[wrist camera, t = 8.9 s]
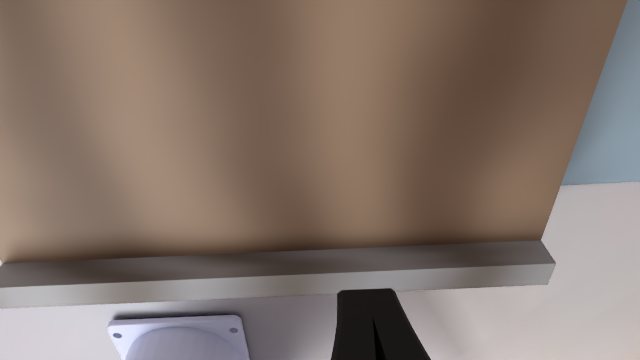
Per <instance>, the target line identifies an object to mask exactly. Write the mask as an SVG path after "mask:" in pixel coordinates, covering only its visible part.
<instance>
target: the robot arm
mask: <svg viewBox="0 0 640 360" xmlns="http://www.w3.org/2000/svg"><path fill="white" fill-rule="evenodd" d="M107 331H108V333H109V335H110V337H111V339H112V341H113V343H114V345H115V347H116V349H117V351H118V353H119V355H120V357H121V359H122V360H250V358H249V353H248V348H247V344H246V339H245V334H244V330H243V325H242V320H241V318H240V317H238V316H236V315H218V316H196V317H173V318H151V319H128V320H113V321H110V322H109V324H108V326H107ZM331 360H431V359H430V357H429V356H428V354H427V352H426V351H425V349H424V347H423V346H422V344H421V342H420V340H419V339H418V337H417V335H416V333H415V331H414V330H413V328H412V326H411V324H410V322H409V320H408V318H407V316H406V314H405V312H404V310H403V308H402V306H401V304H400V302H399V300H398V298H397V295H396V293H395V291H394V290H393V289H391V288H382V289H355V290H341V291H340V292H338V293H337V327H336V334H335V341H334V347H333V352H332V357H331Z"/></svg>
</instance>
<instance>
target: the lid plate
mask: <svg viewBox="0 0 640 360" xmlns="http://www.w3.org/2000/svg"><path fill="white" fill-rule="evenodd" d="M621 182H640V0H628V1H627V3H626V6H625V9H624V12H623V14H622V17H621V20H620V23H619V25H618V28H617V31H616V34H615V37H614V39H613V42H612V45H611V48H610V50H609V53H608V56H607V59H606V61H605V64H604V67H603V70H602V72H601V75H600V78H599V81H598V83H597V86H596V89H595V92H594V95H593V97H592V100H591V103H590V106H589V108H588V111H587V114H586V117H585V119H584V122H583V125H582V128H581V130H580V133H579V136H578V139H577V141H576V144H575V147H574V150H573V153H572V155H571V158H570V161H569V164H568V166H567V169H566V172H565V175H564V177H563V180H562V183H561V185H579V184H600V183H621Z"/></svg>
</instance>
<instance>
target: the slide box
mask: <svg viewBox="0 0 640 360" xmlns="http://www.w3.org/2000/svg"><path fill="white" fill-rule="evenodd" d="M627 1H628V0H0V260H1V261H2V263H3V264H2V265H1V267H0V309H6V308H28V307H51V306H74V305H96V304H119V303H142V302H164V301H187V300H209V299H232V298H255V297H277V296H300V295H322V294H337V293H338V292H340V291H341V290H355V289H382V288H391V289H393V290H394V291H413V290H436V289H458V288H481V287H503V286H526V285H548V282H549V280H550V277H551V275H552V272H553V270H554V267H555V265H556V263H555V261H554V260H553V258H552V257H551V255H550V254H549V252H548V251H547V249H546V248H545V246H544V244H543V243H542V241H541V238H542V235H543V233H544V230H545V227H546V224H547V222H548V219H549V216H550V213H551V210H552V208H553V205H554V202H555V199H556V197H557V194H558V191H559V188H560V186H561V183H562V180H563V177H564V175H565V172H566V169H567V166H568V164H569V161H570V158H571V155H572V153H573V150H574V147H575V144H576V141H577V139H578V136H579V133H580V130H581V128H582V125H583V122H584V119H585V117H586V114H587V111H588V108H589V106H590V103H591V100H592V97H593V95H594V92H595V89H596V86H597V83H598V81H599V78H600V75H601V72H602V70H603V67H604V64H605V61H606V59H607V56H608V53H609V50H610V48H611V45H612V42H613V39H614V37H615V34H616V31H617V28H618V25H619V23H620V20H621V17H622V14H623V12H624V9H625V6H626V3H627Z"/></svg>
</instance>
